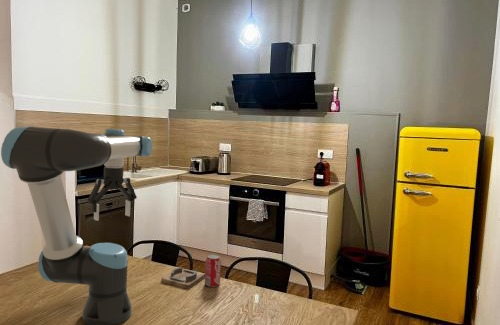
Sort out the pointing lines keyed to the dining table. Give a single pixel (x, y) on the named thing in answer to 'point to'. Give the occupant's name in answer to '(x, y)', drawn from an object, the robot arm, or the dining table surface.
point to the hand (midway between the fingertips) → (112, 217)
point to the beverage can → (212, 270)
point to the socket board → (183, 277)
